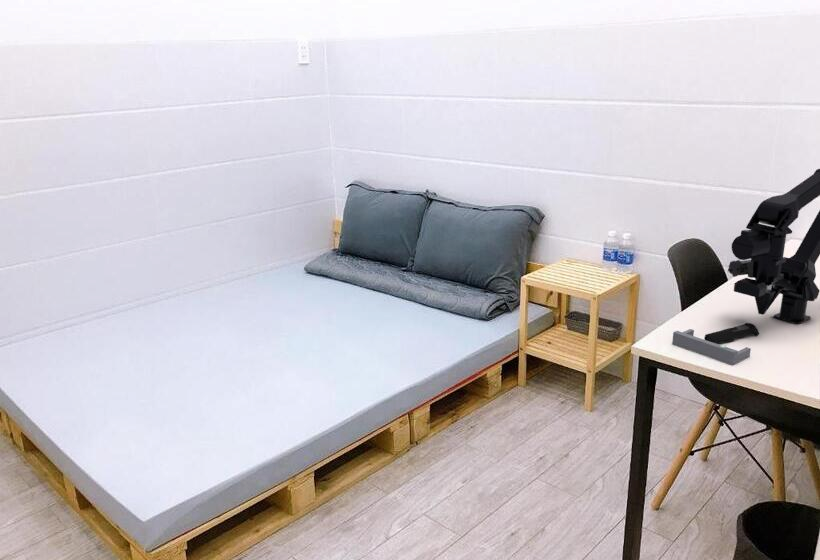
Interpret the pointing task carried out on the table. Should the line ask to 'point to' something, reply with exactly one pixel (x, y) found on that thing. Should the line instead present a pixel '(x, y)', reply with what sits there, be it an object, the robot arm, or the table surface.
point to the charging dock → (709, 347)
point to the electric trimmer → (732, 333)
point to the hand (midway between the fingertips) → (761, 314)
